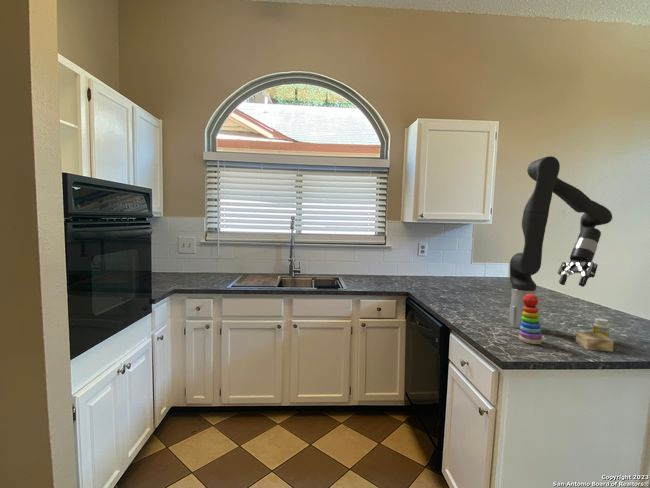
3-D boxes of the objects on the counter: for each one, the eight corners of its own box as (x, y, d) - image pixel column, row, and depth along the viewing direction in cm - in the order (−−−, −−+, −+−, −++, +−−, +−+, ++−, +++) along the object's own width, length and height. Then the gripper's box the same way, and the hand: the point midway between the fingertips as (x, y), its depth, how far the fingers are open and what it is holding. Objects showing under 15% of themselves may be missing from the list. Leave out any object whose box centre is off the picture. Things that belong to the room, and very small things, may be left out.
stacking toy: (537, 338, 126) (538, 292, 125) (546, 345, 119) (548, 297, 118) (515, 336, 128) (516, 291, 127) (523, 344, 120) (524, 296, 119)
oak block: (586, 349, 115) (587, 338, 115) (575, 341, 123) (576, 331, 123) (613, 351, 113) (613, 340, 113) (600, 343, 121) (600, 333, 120)
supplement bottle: (592, 337, 127) (593, 317, 127) (607, 340, 124) (608, 319, 124) (592, 340, 124) (593, 319, 123) (608, 343, 121) (609, 322, 120)
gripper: (561, 247, 140) (549, 280, 138) (594, 246, 126) (581, 282, 124) (574, 255, 141) (562, 287, 139) (608, 254, 127) (595, 290, 125)
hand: (571, 285), depth 132 cm, fingers open, 8 cm apart
